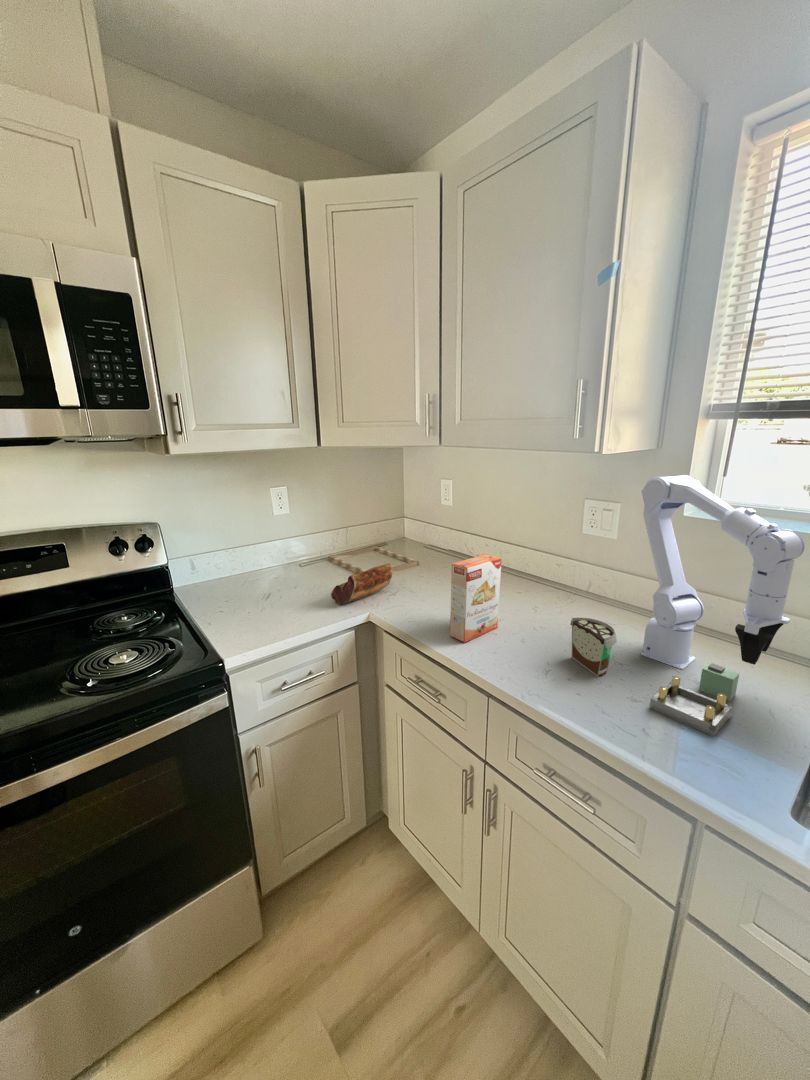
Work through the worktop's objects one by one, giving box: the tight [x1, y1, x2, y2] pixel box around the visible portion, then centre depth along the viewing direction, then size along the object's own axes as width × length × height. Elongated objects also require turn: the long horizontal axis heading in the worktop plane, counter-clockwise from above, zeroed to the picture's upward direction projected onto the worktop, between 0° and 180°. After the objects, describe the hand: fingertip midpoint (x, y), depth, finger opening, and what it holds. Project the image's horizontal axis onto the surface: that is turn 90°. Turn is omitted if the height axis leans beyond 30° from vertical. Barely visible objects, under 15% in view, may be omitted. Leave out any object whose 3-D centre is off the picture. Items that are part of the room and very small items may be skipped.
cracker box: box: [449, 553, 503, 644], centre depth 119 cm, size 14×6×21 cm, turn 130°
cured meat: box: [330, 563, 393, 605], centre depth 149 cm, size 18×25×7 cm
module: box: [698, 662, 740, 702], centre depth 92 cm, size 6×4×6 cm, turn 39°
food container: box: [569, 617, 617, 678], centre depth 103 cm, size 12×6×10 cm, turn 17°
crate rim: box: [328, 546, 420, 574], centre depth 183 cm, size 31×24×3 cm
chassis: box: [649, 675, 733, 737], centre depth 86 cm, size 11×9×4 cm
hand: (754, 655), depth 89 cm, fingers open, 7 cm apart
